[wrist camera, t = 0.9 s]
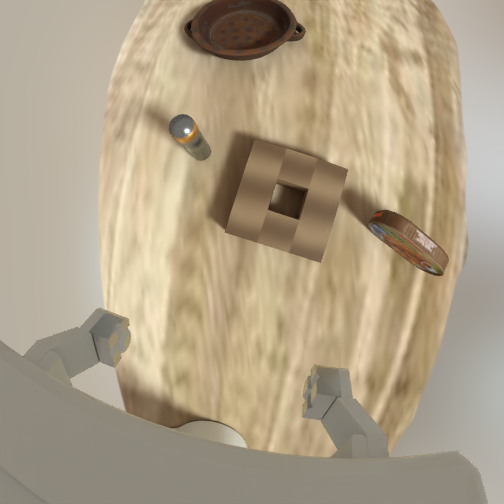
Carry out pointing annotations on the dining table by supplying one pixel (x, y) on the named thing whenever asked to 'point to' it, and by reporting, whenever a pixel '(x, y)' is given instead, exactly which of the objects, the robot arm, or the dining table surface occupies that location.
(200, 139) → the grey upright cylinder
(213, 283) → the dining table surface
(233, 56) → the dish
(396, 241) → the tin
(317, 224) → the brown square frame
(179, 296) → the dining table surface
